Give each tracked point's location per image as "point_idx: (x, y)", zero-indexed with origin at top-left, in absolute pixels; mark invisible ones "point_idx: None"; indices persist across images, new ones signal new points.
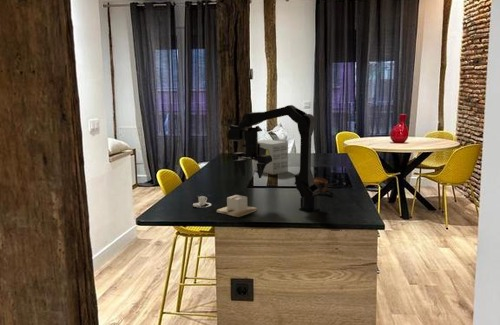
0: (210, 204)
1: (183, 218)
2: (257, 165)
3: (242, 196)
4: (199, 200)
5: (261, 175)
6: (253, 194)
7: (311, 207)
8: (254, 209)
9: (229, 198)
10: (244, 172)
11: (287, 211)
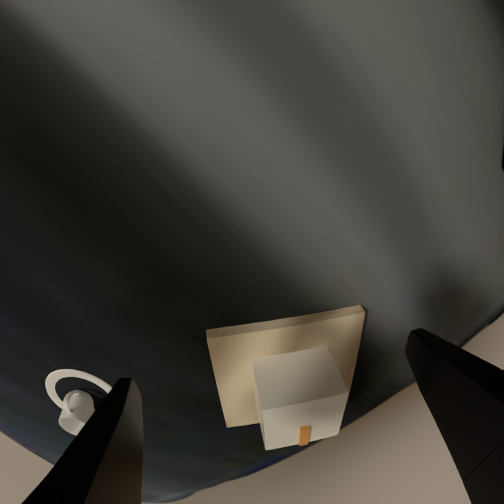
0: (96, 380)
1: (204, 476)
2: (480, 499)
3: (320, 404)
4: (83, 425)
5: (441, 346)
6: (54, 41)
7: None
8: (361, 327)
9: (283, 445)
10: (128, 415)
11: (475, 219)
